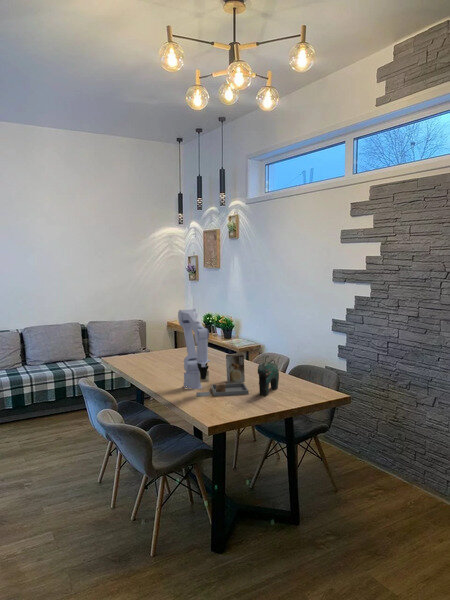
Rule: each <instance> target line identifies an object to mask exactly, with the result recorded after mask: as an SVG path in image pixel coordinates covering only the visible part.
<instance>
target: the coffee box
mask: <svg viewBox="0 0 450 600" xmlns="http://www.w3.org/2000/svg"><path fill="white" fill-rule="evenodd" d="M244 358H245V356H244V354H242V353H241V352H240V353H239V352H238V353H228V354H227V353H226V354H225V363H226V365H225V366H226V382H227V383H228V384H234V383H245V381H246V379H245V377H246V376H245V359H244Z"/></svg>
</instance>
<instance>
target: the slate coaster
mask: <svg viewBox="0 0 450 600" xmlns="http://www.w3.org/2000/svg"><path fill="white" fill-rule="evenodd" d="M211 395H212V394H211V391H202V392H201V391H200V392H196V396H197V397H196V398H199V397H200V398H201V397H211Z"/></svg>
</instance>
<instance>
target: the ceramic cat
mask: <svg viewBox="0 0 450 600" xmlns="http://www.w3.org/2000/svg"><path fill="white" fill-rule="evenodd" d="M267 358H268V359H269V358H270V356H269V355H266V356H265V361H264V362H260V363H259V364H258V366H257V374H258V388H259V396H260V397H268V396H269V390H270V389H272V390H275V391H276V390H278V389H279V381H280V372H279V369H278V365H277V363H276V361H275V360H274V359H271V360H269V361H268V362H267ZM272 361H273V362H272ZM269 388H270V389H269Z"/></svg>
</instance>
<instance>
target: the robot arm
mask: <svg viewBox="0 0 450 600" xmlns="http://www.w3.org/2000/svg"><path fill="white" fill-rule="evenodd" d="M177 313H178V314H177V317H178V324H179V326H180V327H182V330H183V334H184V341H185V346H186V353H187V355H186V356H185V358H184V359H183V368H184V371H185V372H183V386H184V387H185V388H192V389H191V390H200V389H203V386H202V382H200V376H201V379H206V373H207V369H208V370H209V367H210V366H209V365H208V363H210V362H211V359H209V354H208V353H209V352H208V351H209V349H208V347H209V346H208V345H209V344H208V340H209V338H210V332H209V329H208V328H206V327H204V325H203V324H202V322H201V321H199V320H198V312H197V310H196V308H192V309H191V308H190V309H179V310H178V312H177ZM193 333H194V335H193ZM186 386H187V387H186ZM185 388H184V389H185Z"/></svg>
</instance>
